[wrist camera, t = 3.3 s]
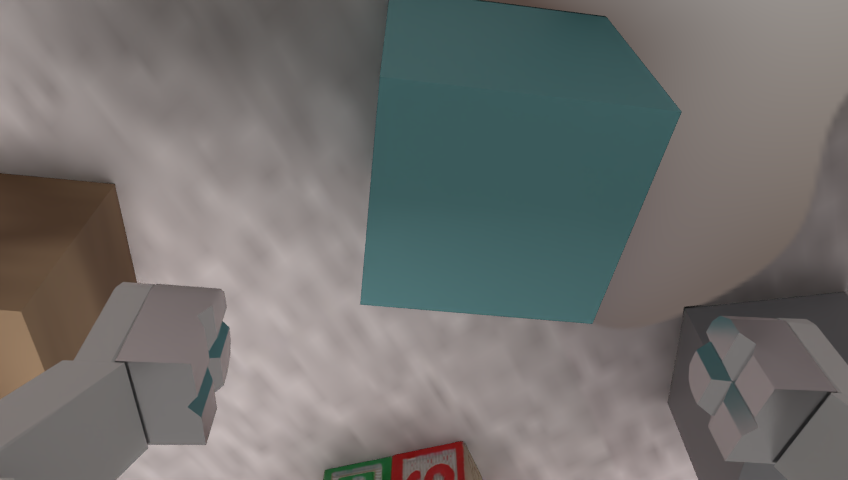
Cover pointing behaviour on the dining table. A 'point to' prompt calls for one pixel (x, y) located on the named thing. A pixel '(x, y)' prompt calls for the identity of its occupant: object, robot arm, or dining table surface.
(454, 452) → the stack of blocks
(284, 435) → the dining table surface
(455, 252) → the teal cube
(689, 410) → the charcoal cube
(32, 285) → the walnut cube
